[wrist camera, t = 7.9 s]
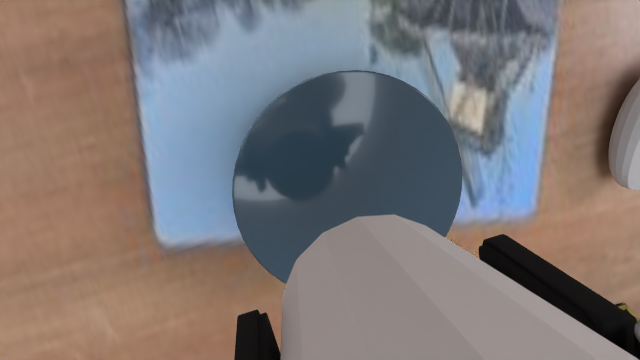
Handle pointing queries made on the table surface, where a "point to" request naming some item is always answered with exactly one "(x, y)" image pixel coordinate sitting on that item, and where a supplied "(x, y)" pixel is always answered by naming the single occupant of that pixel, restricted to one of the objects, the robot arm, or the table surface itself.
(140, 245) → the table surface
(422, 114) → the stand
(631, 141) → the game controller
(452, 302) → the shot glass
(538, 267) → the robot arm
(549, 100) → the table surface
